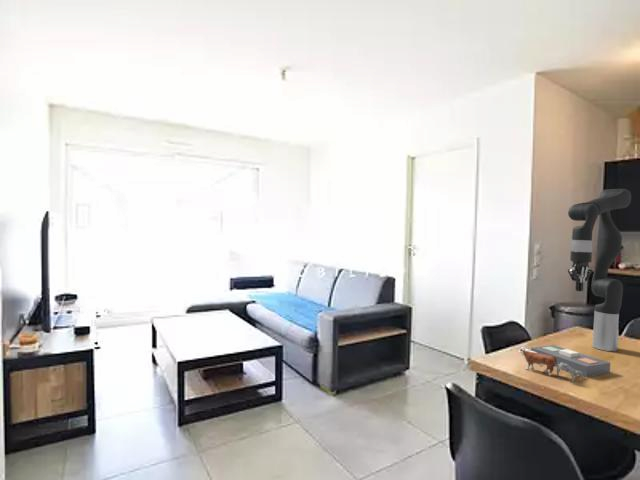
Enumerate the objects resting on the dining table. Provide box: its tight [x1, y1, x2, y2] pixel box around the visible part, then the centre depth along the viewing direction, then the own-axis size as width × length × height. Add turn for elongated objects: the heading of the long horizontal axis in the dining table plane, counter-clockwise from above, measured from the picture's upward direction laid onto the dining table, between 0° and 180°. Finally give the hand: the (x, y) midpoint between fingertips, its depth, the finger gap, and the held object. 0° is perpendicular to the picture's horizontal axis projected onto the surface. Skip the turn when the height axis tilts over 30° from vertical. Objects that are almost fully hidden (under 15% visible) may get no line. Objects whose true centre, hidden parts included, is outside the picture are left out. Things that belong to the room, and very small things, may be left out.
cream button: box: [559, 348, 580, 358], centre depth 153 cm, size 5×5×3 cm
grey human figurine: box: [556, 362, 584, 383], centre depth 138 cm, size 6×5×12 cm
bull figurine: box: [518, 346, 557, 376], centre depth 144 cm, size 4×13×8 cm, turn 44°
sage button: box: [543, 347, 559, 352], centre depth 160 cm, size 5×5×3 cm
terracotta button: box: [577, 358, 598, 364], centre depth 146 cm, size 5×5×3 cm
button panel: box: [530, 344, 611, 378], centre depth 153 cm, size 14×23×4 cm, turn 22°
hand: (579, 291), depth 161 cm, fingers closed
